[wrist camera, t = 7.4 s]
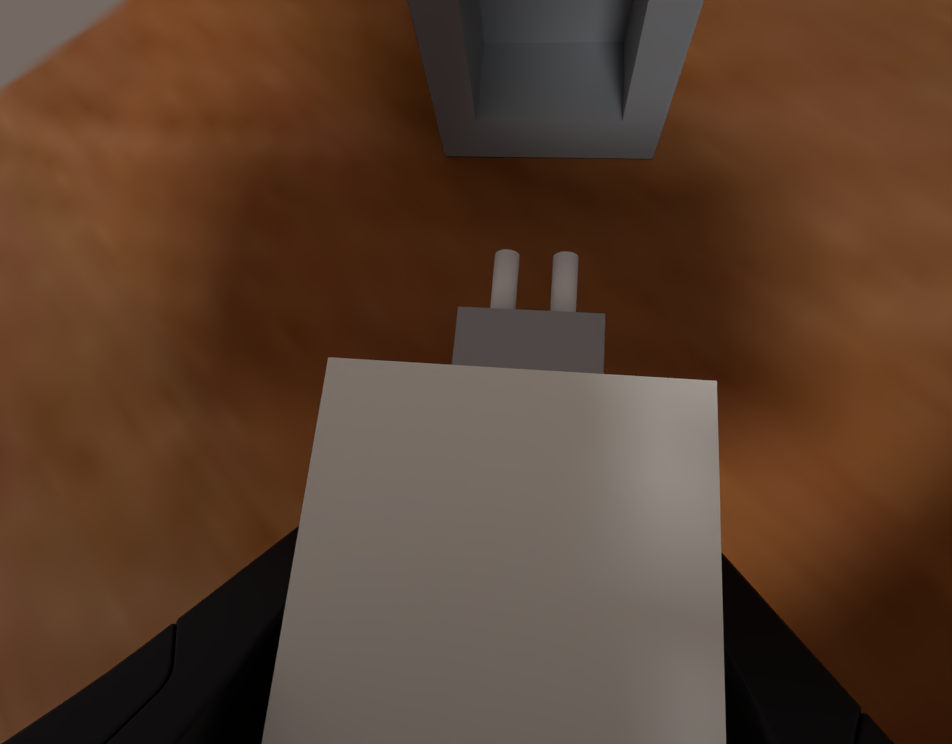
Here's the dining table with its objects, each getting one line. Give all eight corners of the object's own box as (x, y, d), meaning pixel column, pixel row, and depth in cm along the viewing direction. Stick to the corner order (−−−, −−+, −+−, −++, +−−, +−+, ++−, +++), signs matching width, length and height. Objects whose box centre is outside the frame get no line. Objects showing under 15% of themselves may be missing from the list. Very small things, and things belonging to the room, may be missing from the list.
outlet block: (652, 158, 18) (731, -87, 11) (445, 156, 19) (390, -73, 12) (653, 61, 19) (725, -221, 12) (456, 62, 20) (413, -200, 13)
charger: (599, 710, 14) (735, 1090, 4) (423, 687, 14) (219, 980, 5) (611, 317, 16) (708, 54, 7) (463, 310, 17) (380, 57, 8)
